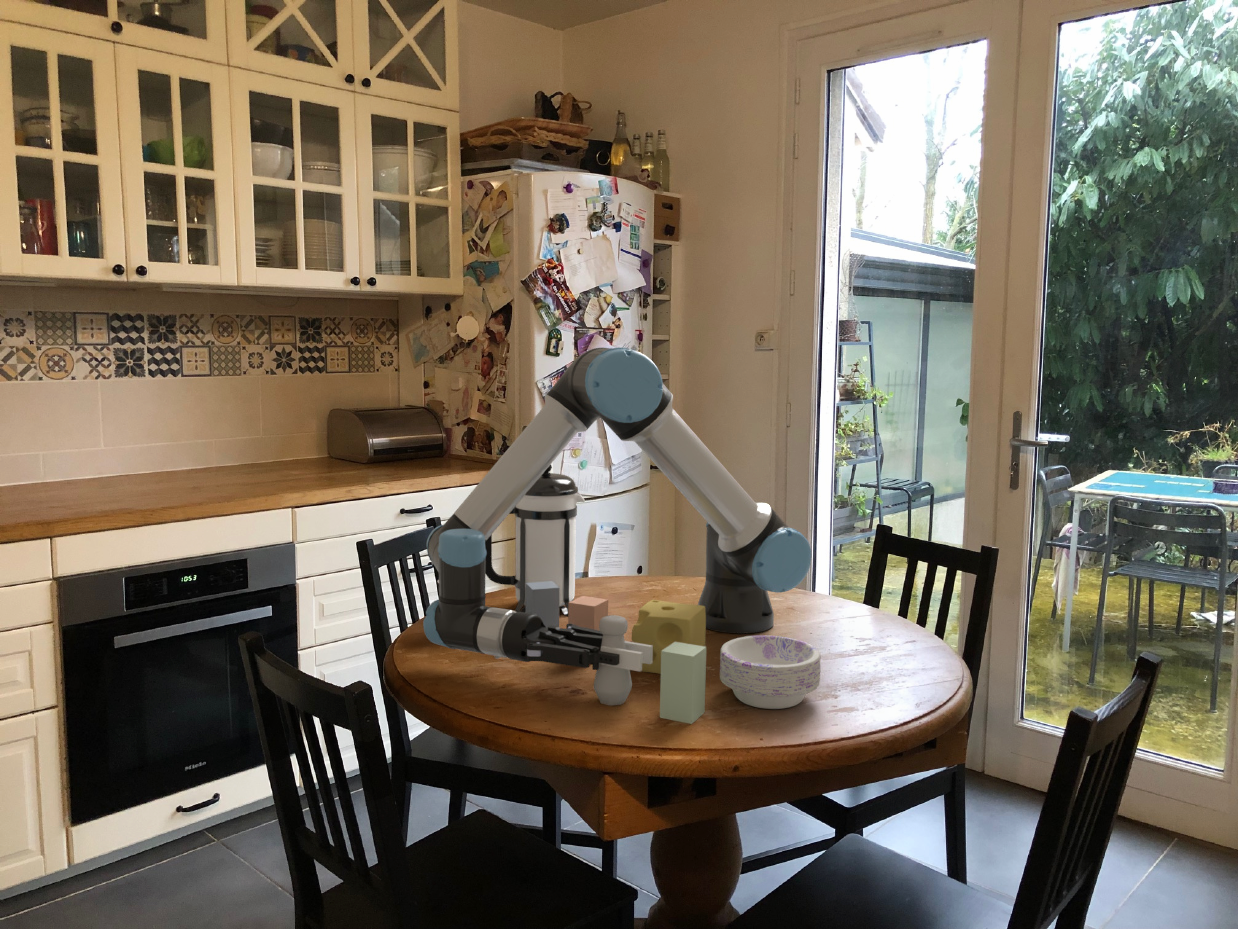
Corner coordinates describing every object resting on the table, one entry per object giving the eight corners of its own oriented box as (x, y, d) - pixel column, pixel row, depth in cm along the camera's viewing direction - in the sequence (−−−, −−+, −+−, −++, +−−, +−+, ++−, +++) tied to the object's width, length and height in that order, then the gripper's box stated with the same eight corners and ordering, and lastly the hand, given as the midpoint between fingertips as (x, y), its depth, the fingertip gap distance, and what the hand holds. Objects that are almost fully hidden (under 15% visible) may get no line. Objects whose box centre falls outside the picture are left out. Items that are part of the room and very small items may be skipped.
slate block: (551, 633, 181) (552, 581, 179) (559, 641, 176) (559, 587, 175) (525, 635, 179) (525, 582, 178) (532, 644, 174) (532, 589, 173)
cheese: (628, 671, 161) (629, 612, 160) (650, 652, 171) (651, 597, 170) (688, 680, 157) (690, 620, 156) (707, 660, 167) (709, 603, 166)
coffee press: (547, 593, 209) (548, 455, 205) (596, 609, 197) (598, 462, 194) (480, 607, 197) (480, 460, 194) (528, 625, 186) (529, 469, 182)
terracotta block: (581, 651, 171) (582, 595, 170) (607, 655, 169) (608, 599, 167) (567, 659, 166) (568, 602, 165) (593, 664, 164) (594, 606, 163)
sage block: (673, 706, 146) (675, 641, 144) (704, 712, 144) (706, 646, 142) (659, 717, 141) (661, 651, 140) (691, 724, 139) (693, 656, 138)
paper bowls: (707, 709, 145) (709, 657, 144) (732, 676, 159) (733, 629, 158) (810, 724, 140) (812, 671, 139) (826, 689, 154) (828, 641, 153)
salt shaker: (636, 696, 149) (638, 614, 148) (624, 709, 144) (626, 624, 142) (600, 691, 151) (602, 610, 150) (587, 704, 146) (588, 620, 144)
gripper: (538, 644, 162) (667, 667, 152) (483, 672, 148) (621, 700, 138) (539, 600, 161) (668, 620, 151) (483, 624, 147) (622, 648, 137)
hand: (646, 658), depth 144 cm, fingers closed on salt shaker, 3 cm apart
